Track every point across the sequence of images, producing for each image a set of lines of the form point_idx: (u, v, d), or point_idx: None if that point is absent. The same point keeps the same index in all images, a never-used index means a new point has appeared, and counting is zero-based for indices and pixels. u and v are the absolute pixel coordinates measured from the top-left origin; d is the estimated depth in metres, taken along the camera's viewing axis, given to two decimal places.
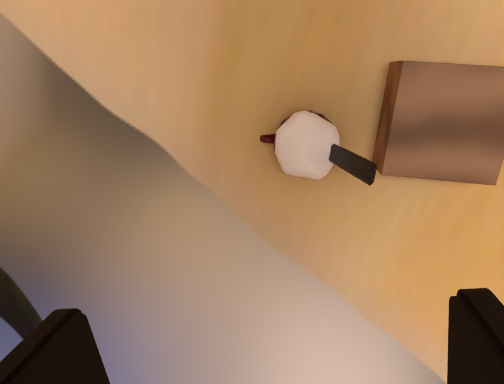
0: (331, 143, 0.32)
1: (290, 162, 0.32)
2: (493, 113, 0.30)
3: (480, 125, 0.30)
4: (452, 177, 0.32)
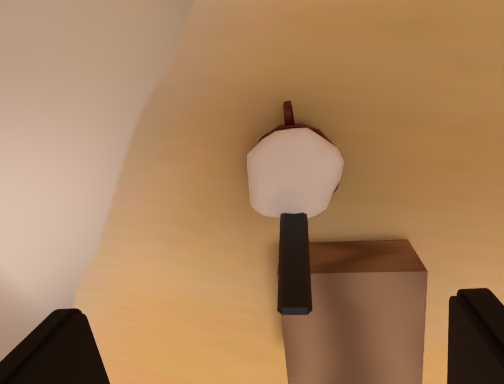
0: (306, 212, 0.22)
1: (267, 163, 0.21)
2: (369, 367, 0.26)
3: (354, 359, 0.26)
4: (289, 345, 0.27)
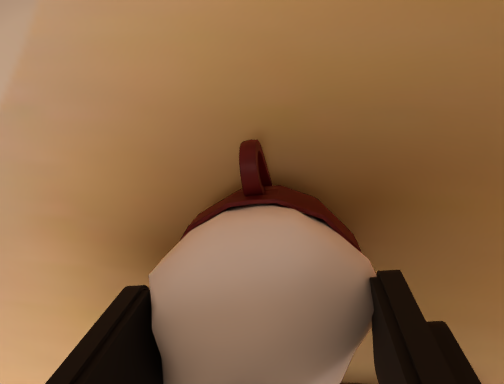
0: None
1: (191, 312, 0.08)
2: None
3: None
4: None
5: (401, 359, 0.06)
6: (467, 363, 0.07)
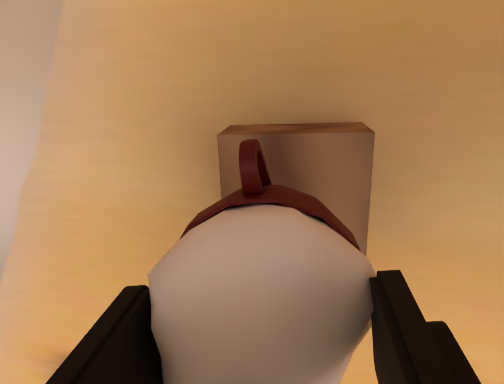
0: None
1: (191, 311, 0.08)
2: None
3: None
4: None
5: (401, 359, 0.06)
6: (467, 363, 0.07)
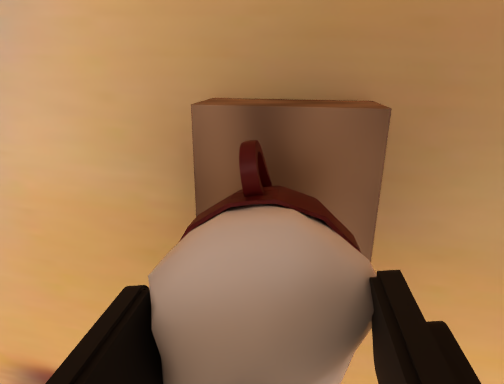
0: None
1: (191, 313, 0.08)
2: None
3: None
4: None
5: (401, 359, 0.06)
6: (467, 363, 0.07)
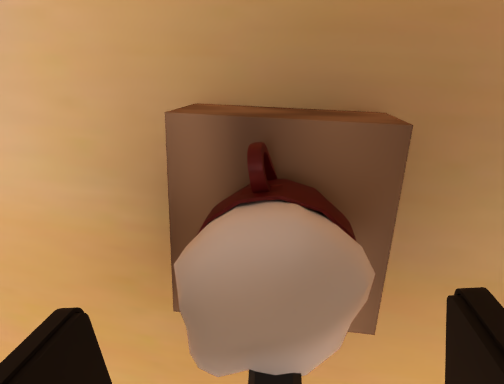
0: (299, 371, 0.11)
1: (212, 295, 0.10)
2: None
3: None
4: (178, 245, 0.17)
5: None
6: None
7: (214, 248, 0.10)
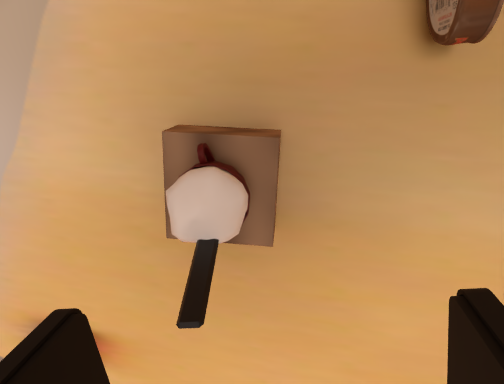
0: (217, 238, 0.26)
1: (180, 198, 0.25)
2: None
3: None
4: None
5: None
6: None
7: (181, 182, 0.25)
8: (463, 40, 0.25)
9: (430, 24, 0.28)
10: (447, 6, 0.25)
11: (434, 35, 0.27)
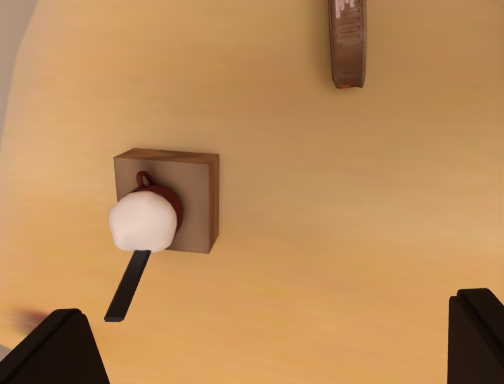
0: (150, 249, 0.32)
1: (118, 217, 0.31)
2: None
3: None
4: None
5: None
6: None
7: (121, 203, 0.31)
8: (347, 86, 0.30)
9: (332, 68, 0.33)
10: None
11: (333, 78, 0.33)
